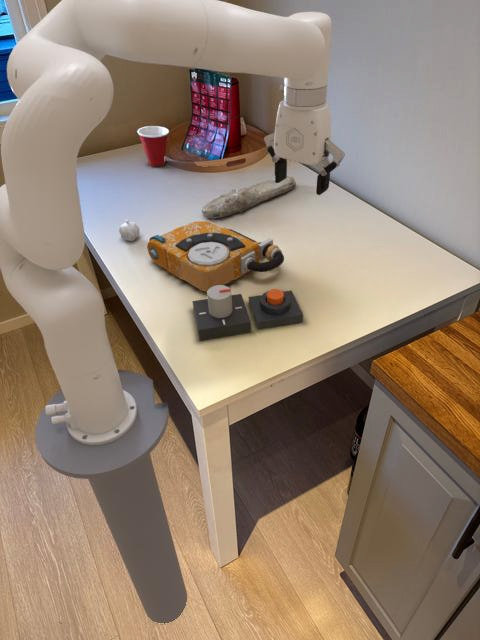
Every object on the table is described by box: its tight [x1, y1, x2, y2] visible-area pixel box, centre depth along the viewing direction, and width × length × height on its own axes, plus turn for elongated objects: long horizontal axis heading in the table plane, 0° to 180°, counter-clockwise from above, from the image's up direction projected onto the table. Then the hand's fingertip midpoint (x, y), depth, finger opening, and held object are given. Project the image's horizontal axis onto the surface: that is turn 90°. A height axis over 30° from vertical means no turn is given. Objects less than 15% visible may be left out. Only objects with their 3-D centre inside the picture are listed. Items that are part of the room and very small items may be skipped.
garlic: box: [118, 219, 141, 242], centre depth 133 cm, size 6×5×5 cm
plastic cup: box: [136, 125, 170, 168], centre depth 171 cm, size 11×11×12 cm
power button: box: [266, 288, 284, 305], centre depth 104 cm, size 4×4×2 cm
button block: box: [248, 289, 304, 330], centre depth 106 cm, size 10×9×4 cm
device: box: [146, 219, 285, 292], centre depth 119 cm, size 23×8×30 cm
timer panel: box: [192, 293, 252, 341], centre depth 104 cm, size 11×10×3 cm
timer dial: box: [206, 285, 233, 318], centre depth 102 cm, size 5×5×5 cm
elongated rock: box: [201, 175, 297, 219], centre depth 148 cm, size 35×5×10 cm
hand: (300, 186), depth 97 cm, fingers open, 9 cm apart
